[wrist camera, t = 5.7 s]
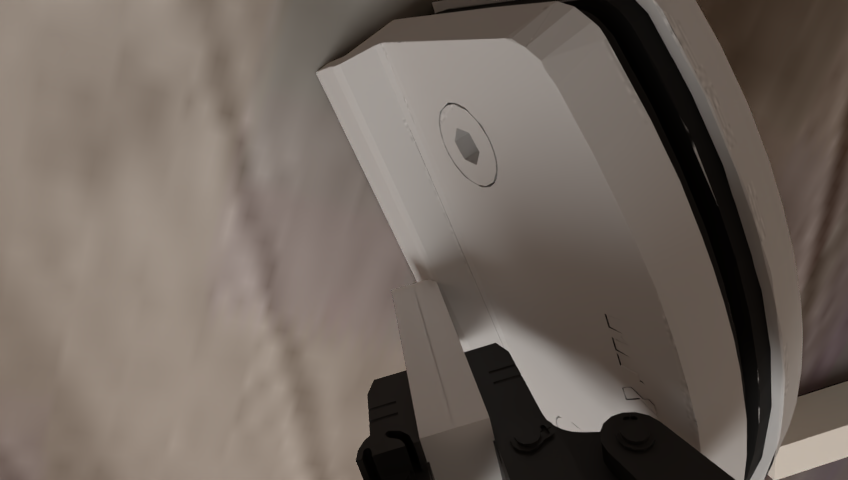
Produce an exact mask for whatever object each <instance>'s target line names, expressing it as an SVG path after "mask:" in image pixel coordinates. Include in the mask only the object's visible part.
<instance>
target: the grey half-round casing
mask: <svg viewBox="0 0 848 480" xmlns="http://www.w3.org/2000/svg"><path fill="white" fill-rule="evenodd" d="M432 5H433V8H434V11H435V14H433V15H427V16H419V17H411V18H403V19H396V20H393V21H391V22H390V23H388V24H387V25H386V26H384V27H383V28H382V29H380V30H379V31H378V32H376V33H375V34H374V35H372V36H371V37H370V38H368V39H367V40H366V41H364V42H363V43H361V44H360V45H359V46H357V47H356V48H355V49H353V50H352V51H351V52H349V53H348V54H347V55H345V56H344V57H341V58H339V59H336V60H334V61H331V62H329V63H328V64H326V65H325V66H323V67H322V68H321V69H319V70H318V71H317V72H316V74H317V76H318V78H319V80H320V82H321V84H322V86H323V88H324V90H325V93H326V95H327V97H328V99H329V101H330V103H331V105H332V107H333V109H334V111H335V113H336V115H337V117H338V119H339V122H340V124H341V126H342V128H343V130H344V132H345V134H346V136H347V138H348V140H349V142H350V144H351V146H352V148H353V150H354V153H355V155H356V157H357V159H358V161H359V163H360V165H361V167H362V169H363V171H364V173H365V175H366V177H367V179H368V181H369V184H370V186H371V188H372V190H373V192H374V194H375V196H376V198H377V200H378V202H379V204H380V206H381V208H382V210H383V212H384V215H385V217H386V219H387V221H388V223H389V225H390V227H391V229H392V231H393V233H394V235H395V237H396V239H397V241H398V243H399V246H400V248H401V250H402V252H403V254H404V256H405V258H406V260H407V262H408V264H409V266H410V268H411V270H412V272H413V274H414V277H415V279H416V281H417V282H421V281H424V280H428V279H430V280H432V281H436V282H437V284H438V287H439V290H440V292H441V295H442V297H443V300H444V302H445V305H446V307H447V310H448V313H449V315H450V318H451V320H452V323H453V325H454V328H455V330H456V333H457V336H458V338H459V341H460V343H461V346H462V348H463V351H464V352H466V351H470V350H473V349H476V348H480V347H483V346H487V345H490V344H493V343H497V344H498V345H500V346H501V347H503V348H504V349H506V350H507V351H509V353H510V355H511V356H512V358H513V360H514V362H515V364H516V366H517V368H518V369H519V371H520V373H521V376H522V377H523V379H524V381H525V382H526V384H527V386H528V388H529V390H530V392H531V394H532V395H533V397H534V399H535V401H536V403H537V405H538V407H539V408H540V410H541V412H542V414H543V415H544V417H545V418H546V419H547V420H548V421H549V422H551V423H552V424H553V425H554V426H556V427H559V428H561V429H563V430H567V431H571V432H600V431H601V428H602V425H603V423H604V422H605V421H607V420H608V419H609V418H610V417H611V416H614V415H617V414H620V413H622V412H638V413H642V414H646V415H649V416H651V417H653V418H655V419H657V420H658V421H660V422H662V423H663V424H664V425H665V426H667V427H668V428H669V429H671V430H672V431H673V432H674V433H676V434H677V435H678V436H680V437H681V438H682V439H684V440H685V441H686V442H687V443H689V444H690V445H691V446H693V447H694V448H695V449H696V450H698V451H699V452H700V453H702V454H703V455H704V456H705V457H707V458H708V459H709V460H711V461H712V462H713V463H715V464H716V465H717V466H718V467H720V468H721V469H722V470H724V471H725V472H726V473H727V474H729V475H730V476H731V477H733V478H734V479H735V480H765V478H766V476H767V474H768V472H769V470H770V468H771V466H772V464H773V462H774V460H775V458H776V455H777V453H778V451H779V448H780V446H781V444H782V442H783V439H784V437H785V435H786V433H787V430H788V428H789V426H790V423H791V419H792V416H793V413H794V409H795V406H796V403H797V396H798V390H799V383H800V377H801V370H802V345H803V330H802V311H801V298H800V291H799V284H798V277H797V270H796V262H795V256H794V251H793V247H792V242H791V238H790V234H789V229H788V225H787V221H786V217H785V212H784V208H783V204H782V201H781V198H780V194H779V191H778V188H777V184H776V181H775V178H774V174H773V171H772V168H771V164H770V161H769V158H768V155H767V153H766V150H765V148H764V145H763V142H762V140H761V137H760V134H759V132H758V129H757V126H756V124H755V121H754V118H753V116H752V113H751V110H750V108H749V105H748V103H747V101H746V98H745V96H744V94H743V92H742V90H741V88H740V86H739V83H738V81H737V79H736V77H735V75H734V73H733V71H732V68H731V66H730V64H729V62H728V60H727V58H726V56H725V53H724V51H723V49H722V47H721V45H720V43H719V41H718V40H717V38H716V36H715V34H714V32H713V31H712V29H711V27H710V25H709V23H708V22H707V20H706V18H705V16H704V14H703V13H702V11H701V9H700V7H699V5H698V4H697V2H696V0H443V1H437V2H432Z"/></svg>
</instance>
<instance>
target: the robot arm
mask: <svg viewBox="0 0 848 480" xmlns="http://www.w3.org/2000/svg"><path fill="white" fill-rule="evenodd" d="M391 291H392V297H393V302H394V307H395V312H396V318H397V323H398V328H399V333H400V339H401V344H402V349H403V354H404V360H405V365H406V371H403V372H400V373H396V374H393V375H390V376H386V377H383V378H379V379H376V380H374V381H373V384H372V386H371V388H370V390H369V393H368V409H369V422H370V424H369V425H370V436H369V437H368V438H367V439H366V440H365V441H364V442H363V444H362V445H361V447H360V448H359V450H358V453H357V458H356V462H357V465H358V467H359V470H360V472H361V475H362V477H363V480H735V479H734V478H733V477H731V476H730V475H729V474H727V473H726V472H725V471H724V470H722V469H721V468H720V467H718V466H717V465H716V464H715V463H713V462H712V461H711V460H709V459H708V458H707V457H705V456H704V455H703V454H702V453H700V452H699V451H698V450H696V449H695V448H694V447H693V446H691V445H690V444H689V443H687V442H686V441H685V440H684V439H682V438H681V437H680V436H678V435H677V434H676V433H674V432H673V431H672V430H671V429H669V428H668V427H667V426H665V425H664V424H663V423H662V422H660V421H658V420H657V419H655V418H653V417H651V416H649V415H646V414H642V413H638V412H622V413H620V414H617V415H614V416H611V417H610V418H609V419H608V420H607V421H605V422H604V423H603V425H602V428H601V431H600V432H571V431H567V430H563V429H561V428H559V427H556V426H554V425H553V424H552V423H551V422H549V421H548V420H547V419H546V418H545V417H544V415H543V414H542V412H541V410H540V408H539V407H538V405H537V403H536V401H535V399H534V397H533V395H532V394H531V392H530V390H529V388H528V386H527V384H526V382H525V381H524V379H523V377H522V376H521V373H520V371H519V369H518V368H517V366H516V364H515V362H514V360H513V358H512V356H511V355H510V353H509V351H507V350H506V349H504V348H503V347H501V346H500V345H498V344H497V343H493V344H490V345H487V346H483V347H480V348H476V349H473V350H470V351H466V352H464V351H463V348H462V346H461V343H460V341H459V338H458V336H457V333H456V330H455V328H454V325H453V323H452V320H451V318H450V315H449V313H448V310H447V307H446V305H445V302H444V300H443V297H442V295H441V292H440V290H439V287H438V284H437V282H436V281H432V280H430V279H428V280H424V281H421V282H417V283H414V284H410V285H407V286H403V287H400V288H396V289H393V290H391Z"/></svg>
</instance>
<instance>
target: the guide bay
mask: <svg viewBox="0 0 848 480" xmlns="http://www.w3.org/2000/svg"><path fill="white" fill-rule="evenodd" d="M845 457H848V381H846V382H843V383H840V384H837V385H834V386H831V387H827V388H824V389H821V390H818V391H815V392H812V393H809V394H806V395H803V396H799V397H797V403H796V406H795V409H794V413H793V416H792V419H791V423H790V426H789V428H788V430H787V433H786V435H785V437H784V439H783V442H782V444H781V446H780V448H779V451H778V453H777V455H776V458H775V460H774V462H773V464H772V466H771V468H770V470H769V472H768V475H769V476H770V477H771V478H772V479H773V480H778V479H781V478H784V477H787V476H790V475H793V474H796V473H799V472H802V471H806V470H809V469H812V468H815V467H818V466H821V465H824V464H827V463H830V462H833V461H836V460H839V459H842V458H845Z"/></svg>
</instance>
